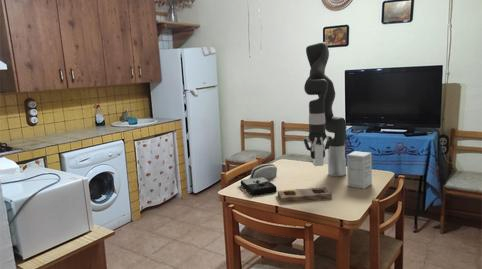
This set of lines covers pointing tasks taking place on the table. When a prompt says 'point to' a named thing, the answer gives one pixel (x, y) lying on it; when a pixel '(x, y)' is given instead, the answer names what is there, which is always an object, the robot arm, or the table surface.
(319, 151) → the steel peg
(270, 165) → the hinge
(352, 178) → the supplement box
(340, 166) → the robot arm
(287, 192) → the hole board
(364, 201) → the table surface
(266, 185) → the multimeter
